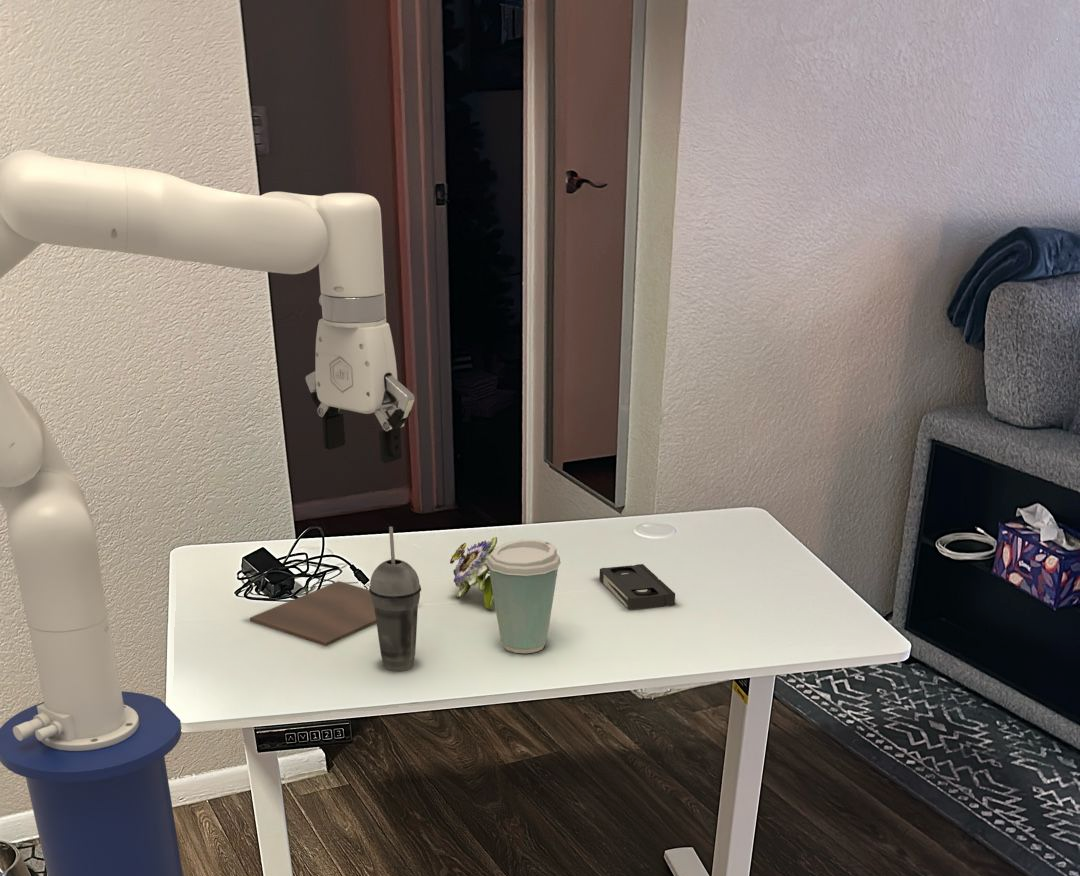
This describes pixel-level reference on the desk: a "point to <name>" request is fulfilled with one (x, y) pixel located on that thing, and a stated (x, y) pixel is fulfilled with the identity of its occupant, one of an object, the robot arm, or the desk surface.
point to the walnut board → (323, 614)
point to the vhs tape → (636, 587)
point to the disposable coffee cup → (523, 592)
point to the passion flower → (474, 569)
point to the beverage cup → (396, 610)
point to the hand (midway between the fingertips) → (362, 453)
